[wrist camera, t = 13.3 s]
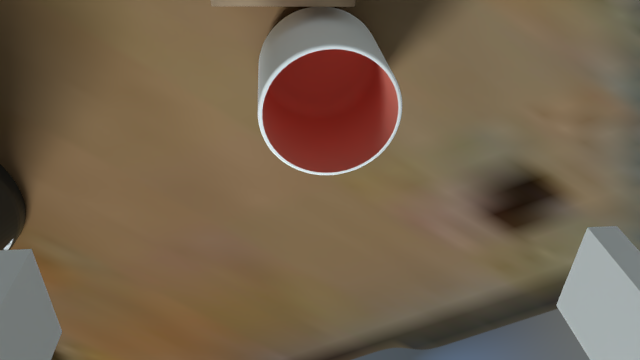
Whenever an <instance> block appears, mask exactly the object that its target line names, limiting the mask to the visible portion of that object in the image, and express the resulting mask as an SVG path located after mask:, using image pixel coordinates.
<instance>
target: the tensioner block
mask: <svg viewBox="0 0 640 360" xmlns="http://www.w3.org/2000/svg"><path fill="white" fill-rule="evenodd" d="M211 6H281V7H355V0H211Z"/></svg>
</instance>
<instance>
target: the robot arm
mask: <svg viewBox="0 0 640 360" xmlns="http://www.w3.org/2000/svg"><path fill="white" fill-rule="evenodd" d="M25 216H26V211H25V204H24V200H23V197H22V194H21V192H20V190H19V188H18V186H17V184H16V183H15V181H14V180H13V178H12V177H11V176H10V174H9V173H8V172H7V171H6V170H5V169H4V168H3V167H2V166H1V165H0V360H51V358H52V356H53V353H54V350H55V348H56V345H57V343H58V340H59V338H60V335H61V333H62V330H61V327H60V325H59V322H58V319H57V317H56V314H55V311H54V309H53V306H52V303H51V300H50V298H49V295H48V292H47V290H46V287H45V284H44V282H43V279H42V276H41V274H40V271H39V268H38V265H37V263H36V260H35V257H34V255H33V252H32V249H22V250H10V249H11V247H12V246H13V245H14V243H15V242H16V240H17V238H18V237H19V235H20V233H21V231H22V229H23V226H24V223H25ZM557 307H558V309H559V310H560V312H561V313H562V315H563V317H564V318H565V320H566V322H567V323H568V325H569V326H570V328H571V330H572V331H573V333H574V334H575V336H576V338H577V339H578V341H579V342H580V344H581V346H582V347H583V349H584V351H585V352H586V354H587V355H588V357H589V359H590V360H640V252H639V250H638V249H637V248H636V247H635V246H634V245H633V244H632V243H631V241H630V240H629V239H628V238H627V237H626V236H625V235H624V234H623V233H622V231H621V230H620V229H619V228H618V227H617V226H610V227H588V228H587V230H586V233H585V235H584V238H583V240H582V243H581V245H580V248H579V250H578V253H577V255H576V258H575V260H574V263H573V265H572V267H571V270H570V272H569V275H568V277H567V280H566V282H565V285H564V287H563V290H562V292H561V295H560V297H559V300H558V302H557Z"/></svg>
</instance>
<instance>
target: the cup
mask: <svg viewBox="0 0 640 360" xmlns="http://www.w3.org/2000/svg"><path fill="white" fill-rule="evenodd" d="M401 115H402V97H401V92H400V88H399V85H398V83H397V80H396V78H395V76H394V75H393V73H392V71H391V69H390V67H389V65H388V63H387V62H386V60H385V58H384V56H383V54H382V52H381V50H380V49H379V47H378V45H377V43H376V41H375V39H374V37H373V35H372V34H371V32H370V31H369V29H368V28H367V27H366V26H365V25H364V24H363V23H362V22H361V21H360V20H359V19H358V18H356V17H355V16H353V15H352V14H350V13H348V12H346V11H344V10H341V9H338V8H334V7H309V8H305V9H301V10H298V11H296V12H293V13H291V14H290V15H288V16H286V17H285V18H283V19H282V20H281V21H280V22H279V23H278V24H277V25H276V26H275V27H274V28H273V29H272V30H271V31H270V33H269V34H268V36H267V38H266V39H265V41H264V44H263V46H262V49H261V52H260V57H259V69H258V122H259V127H260V130H261V133H262V136H263V138H264V140H265V142H266V144H267V145H268V147H269V148H270V149H271V151H272V152H273V153H274V154H275V155H276V156H277V157H278V158H279V159H280V160H282V161H283V162H284V163H286V164H287V165H289V166H291V167H293V168H295V169H297V170H300V171H303V172H306V173H310V174H316V175H336V174H341V173H346V172H350V171H353V170H355V169H358V168H360V167H362V166H364V165H366V164H368V163H369V162H371V161H372V160H374V159H375V158H376V157H377V156H378V155H380V154H381V153H382V152H383V151H384V150H385V148H386V147H387V146H388V145H389V143H390V142H391V140H392V139H393V137H394V135H395V133H396V131H397V129H398V126H399V123H400V119H401Z"/></svg>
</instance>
